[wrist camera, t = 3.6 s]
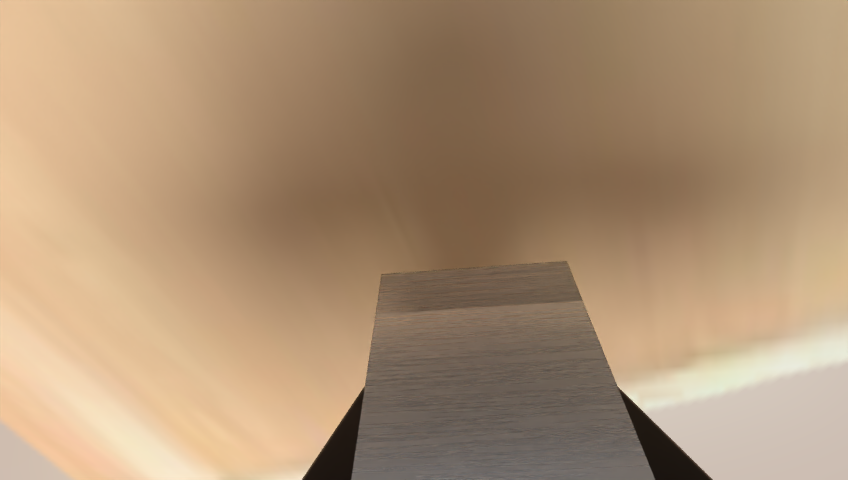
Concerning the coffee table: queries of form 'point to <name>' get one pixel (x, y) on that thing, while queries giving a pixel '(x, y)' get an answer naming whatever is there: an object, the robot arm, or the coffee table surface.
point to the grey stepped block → (491, 382)
